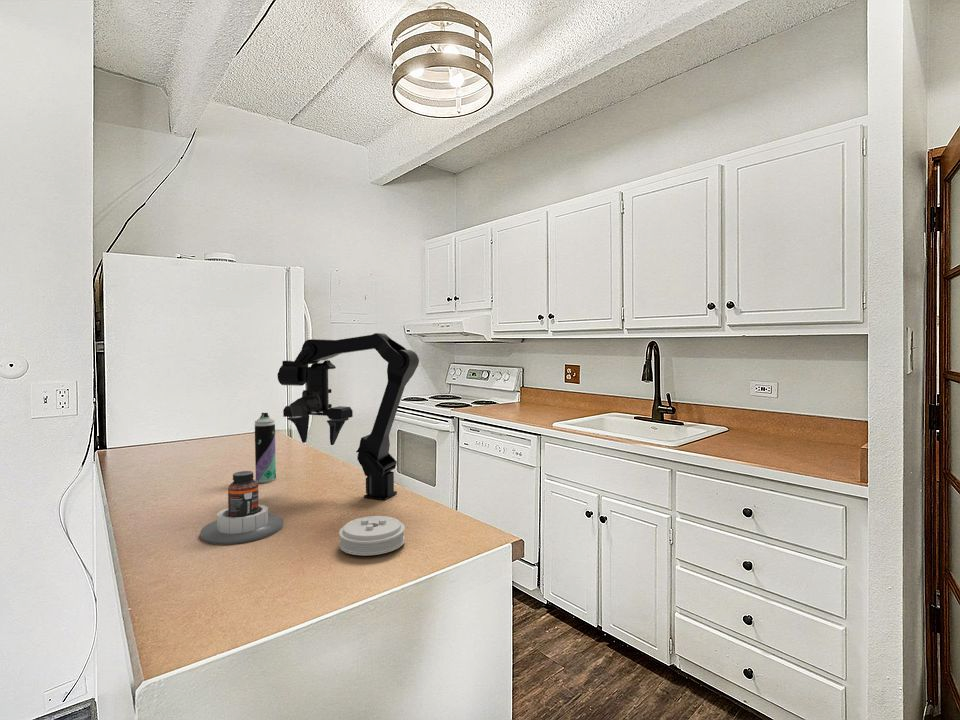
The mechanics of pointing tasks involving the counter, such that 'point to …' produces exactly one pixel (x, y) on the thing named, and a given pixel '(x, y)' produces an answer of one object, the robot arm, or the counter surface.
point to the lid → (371, 535)
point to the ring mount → (241, 527)
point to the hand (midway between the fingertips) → (318, 443)
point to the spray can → (265, 449)
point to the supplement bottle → (243, 495)
